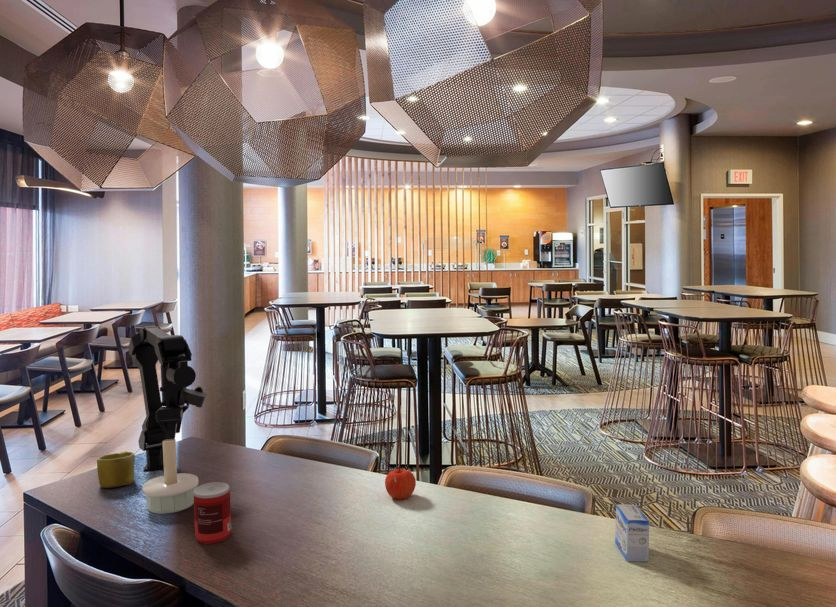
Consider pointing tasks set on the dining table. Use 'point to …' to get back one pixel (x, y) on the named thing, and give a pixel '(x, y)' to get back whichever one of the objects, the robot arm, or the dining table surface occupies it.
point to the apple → (400, 483)
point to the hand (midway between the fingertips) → (174, 437)
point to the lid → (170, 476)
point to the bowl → (170, 503)
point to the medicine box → (632, 533)
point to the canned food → (212, 512)
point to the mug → (116, 469)
